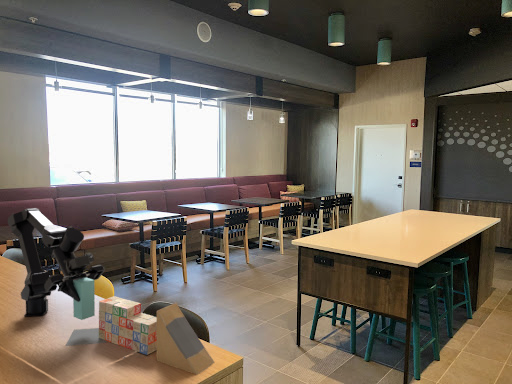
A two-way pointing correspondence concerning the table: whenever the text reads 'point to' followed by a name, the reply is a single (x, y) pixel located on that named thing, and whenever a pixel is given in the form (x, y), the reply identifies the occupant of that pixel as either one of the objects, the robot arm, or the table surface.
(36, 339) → the table surface
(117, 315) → the stack of blocks
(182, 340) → the sandwich container
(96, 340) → the charcoal mat
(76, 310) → the teal block
